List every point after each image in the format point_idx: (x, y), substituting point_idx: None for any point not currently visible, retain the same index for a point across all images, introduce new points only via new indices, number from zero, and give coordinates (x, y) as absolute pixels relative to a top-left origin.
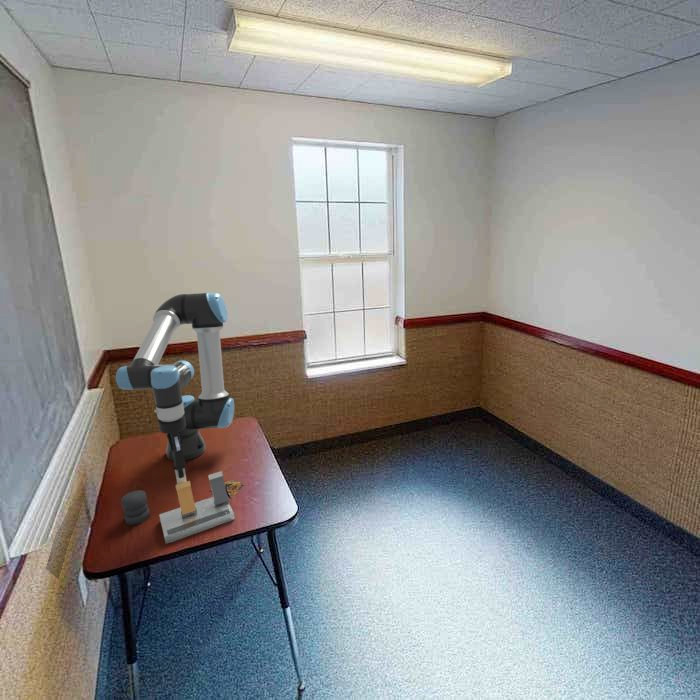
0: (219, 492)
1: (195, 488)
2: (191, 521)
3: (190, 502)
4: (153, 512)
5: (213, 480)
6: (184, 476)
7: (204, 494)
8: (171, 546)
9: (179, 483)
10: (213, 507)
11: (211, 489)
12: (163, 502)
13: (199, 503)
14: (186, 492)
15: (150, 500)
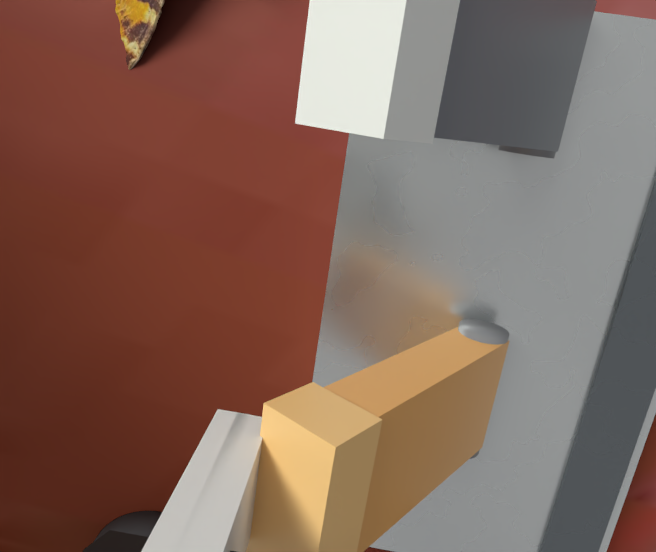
0: (538, 67)
1: (25, 154)
2: (576, 395)
3: (465, 396)
4: (163, 491)
5: (449, 85)
6: (236, 523)
7: (165, 124)
8: (622, 524)
9: (248, 527)
10: (534, 173)
11: (125, 40)
12: (81, 409)
13: (370, 252)
14: (401, 453)
15: (3, 464)
